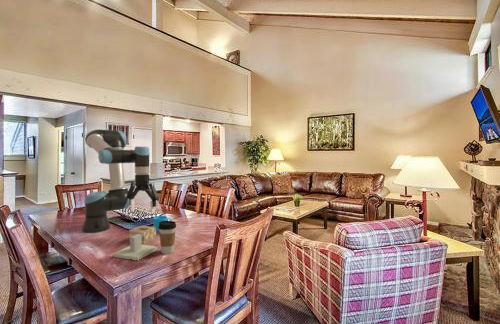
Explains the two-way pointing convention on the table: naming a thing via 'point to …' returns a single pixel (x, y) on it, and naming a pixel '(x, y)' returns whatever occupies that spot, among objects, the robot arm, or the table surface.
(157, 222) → the mug
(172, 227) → the coffee cup
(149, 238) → the collar
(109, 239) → the table surface
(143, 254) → the base
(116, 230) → the table surface
